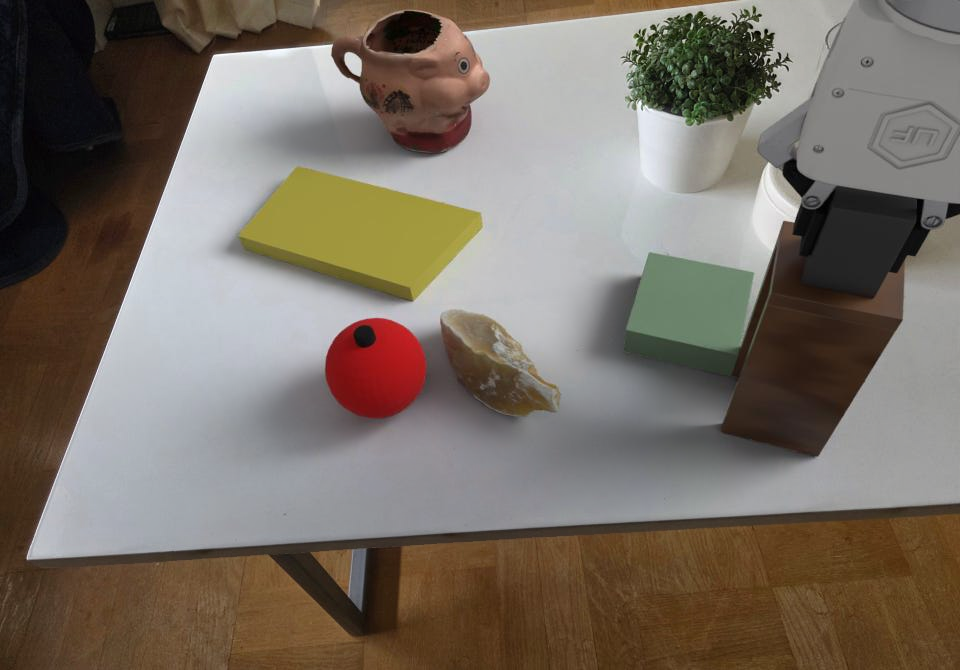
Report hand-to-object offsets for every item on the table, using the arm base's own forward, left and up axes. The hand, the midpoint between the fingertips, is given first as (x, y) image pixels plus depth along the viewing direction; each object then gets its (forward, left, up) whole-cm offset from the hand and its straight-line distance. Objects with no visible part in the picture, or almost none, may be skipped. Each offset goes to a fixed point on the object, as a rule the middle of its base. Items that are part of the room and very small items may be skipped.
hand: (849, 246), depth 47 cm
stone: (+24, +4, -21) cm, 32 cm away
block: (0, 0, -2) cm, 2 cm away
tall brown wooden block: (0, 0, -21) cm, 21 cm away
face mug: (+46, -28, -21) cm, 58 cm away
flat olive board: (+45, -10, -21) cm, 51 cm away
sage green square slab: (+9, -8, -21) cm, 24 cm away
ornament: (+34, +8, -21) cm, 41 cm away
